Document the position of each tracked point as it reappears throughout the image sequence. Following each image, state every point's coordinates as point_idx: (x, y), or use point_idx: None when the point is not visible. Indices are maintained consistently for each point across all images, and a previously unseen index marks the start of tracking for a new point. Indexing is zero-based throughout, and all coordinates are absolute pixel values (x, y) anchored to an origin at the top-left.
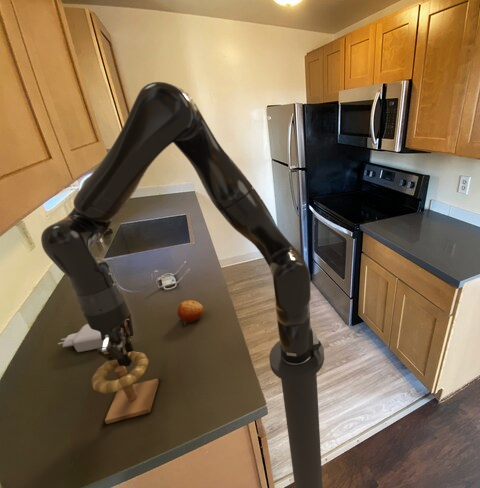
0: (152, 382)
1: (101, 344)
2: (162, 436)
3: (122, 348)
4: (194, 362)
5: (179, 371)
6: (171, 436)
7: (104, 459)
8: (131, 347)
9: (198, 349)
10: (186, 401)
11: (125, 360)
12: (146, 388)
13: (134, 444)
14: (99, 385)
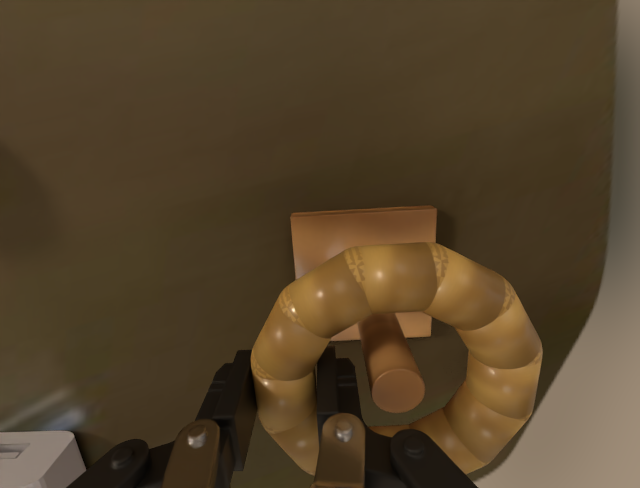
0: (307, 231)
1: (72, 471)
2: (553, 130)
3: (364, 483)
4: (210, 72)
5: (254, 136)
6: (569, 95)
7: (548, 288)
8: (238, 393)
9: (121, 66)
10: (431, 66)
11: (348, 386)
12: (333, 245)
13: (539, 219)
14: (504, 445)
